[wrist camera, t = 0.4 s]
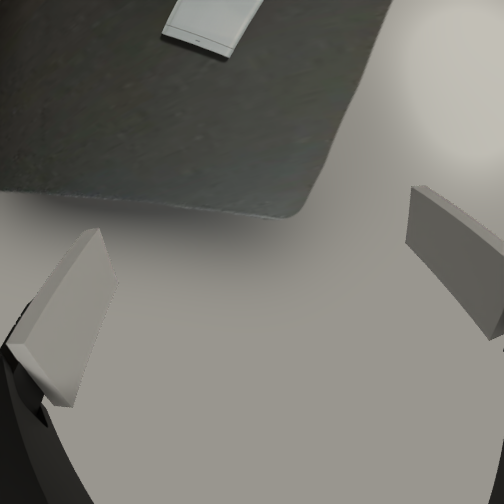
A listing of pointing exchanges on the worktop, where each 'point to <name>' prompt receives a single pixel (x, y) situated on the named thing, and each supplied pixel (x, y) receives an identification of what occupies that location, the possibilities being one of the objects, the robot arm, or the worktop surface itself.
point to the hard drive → (211, 22)
